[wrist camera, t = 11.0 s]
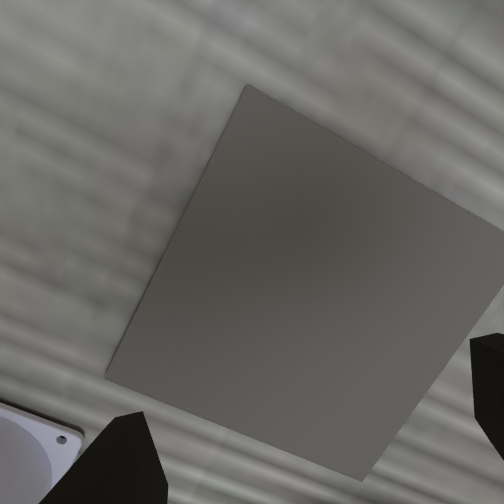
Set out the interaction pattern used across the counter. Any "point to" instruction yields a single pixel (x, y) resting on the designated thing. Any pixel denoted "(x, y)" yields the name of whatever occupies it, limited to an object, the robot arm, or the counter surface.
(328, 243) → the mat
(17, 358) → the counter surface
